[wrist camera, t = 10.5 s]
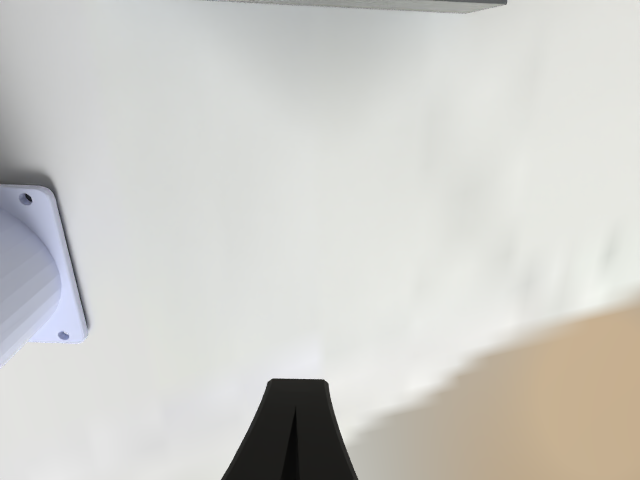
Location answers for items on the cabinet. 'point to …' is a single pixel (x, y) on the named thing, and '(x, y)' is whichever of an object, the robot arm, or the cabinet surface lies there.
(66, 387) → the cabinet surface
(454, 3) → the block
